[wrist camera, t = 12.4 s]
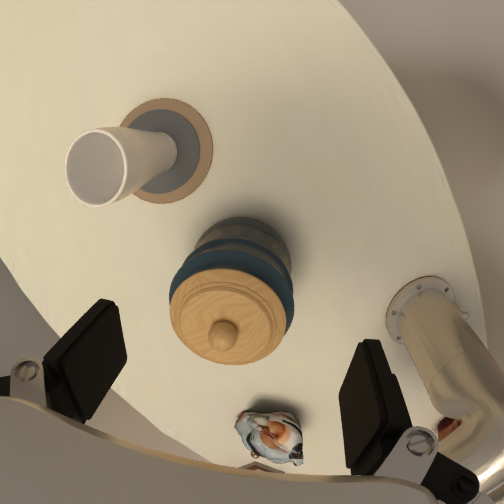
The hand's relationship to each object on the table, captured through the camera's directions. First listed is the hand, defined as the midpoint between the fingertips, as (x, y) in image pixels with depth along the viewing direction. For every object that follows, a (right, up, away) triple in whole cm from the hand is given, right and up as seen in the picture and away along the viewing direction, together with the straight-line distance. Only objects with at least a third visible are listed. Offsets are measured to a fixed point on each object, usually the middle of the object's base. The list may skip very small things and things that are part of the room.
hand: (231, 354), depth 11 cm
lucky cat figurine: (+4, -30, +44) cm, 53 cm away
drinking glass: (-11, +16, +24) cm, 31 cm away
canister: (0, +3, +30) cm, 31 cm away
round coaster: (-11, +17, +25) cm, 32 cm away
